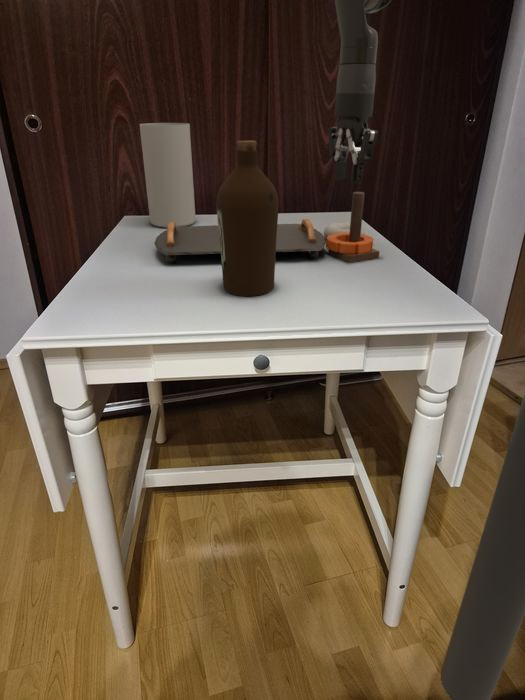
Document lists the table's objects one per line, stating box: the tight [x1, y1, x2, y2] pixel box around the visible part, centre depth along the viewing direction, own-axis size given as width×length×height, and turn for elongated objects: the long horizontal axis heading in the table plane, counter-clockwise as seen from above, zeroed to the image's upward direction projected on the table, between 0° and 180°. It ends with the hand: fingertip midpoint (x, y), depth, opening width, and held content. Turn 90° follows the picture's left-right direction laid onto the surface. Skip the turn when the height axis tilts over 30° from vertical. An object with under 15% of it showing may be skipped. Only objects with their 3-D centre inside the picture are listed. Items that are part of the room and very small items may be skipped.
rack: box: [327, 191, 381, 264], centre depth 104 cm, size 8×8×14 cm
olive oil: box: [215, 139, 280, 297], centre depth 84 cm, size 11×11×25 cm
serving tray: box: [153, 218, 327, 265], centre depth 110 cm, size 39×23×6 cm, turn 96°
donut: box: [323, 222, 366, 240], centre depth 118 cm, size 10×4×10 cm
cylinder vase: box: [139, 122, 196, 229], centre depth 129 cm, size 12×12×25 cm
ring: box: [325, 232, 374, 254], centre depth 107 cm, size 10×10×2 cm
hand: (348, 180), depth 103 cm, fingers open, 5 cm apart
